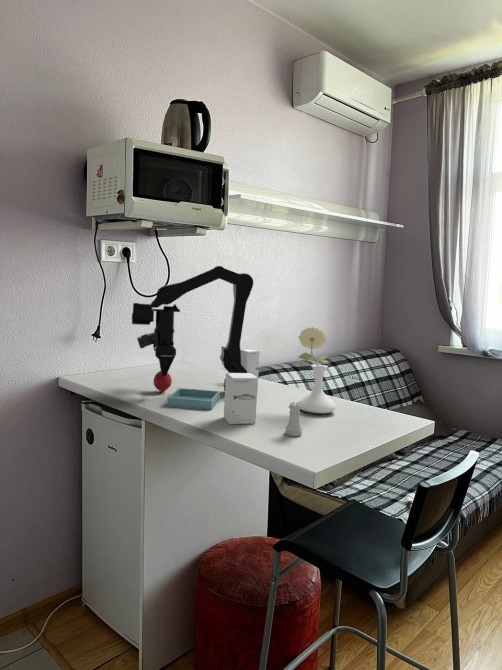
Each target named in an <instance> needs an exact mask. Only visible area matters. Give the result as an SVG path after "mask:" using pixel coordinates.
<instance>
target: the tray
mask: <svg viewBox="0 0 502 670" xmlns="http://www.w3.org/2000/svg"><path fill="white" fill-rule="evenodd" d="M166 400H167V401H166V406H167V407H171V408H184V409H194V410H205V411H207V410H209V411H212V410H213V408H215V406H216V405H217V404H218V403H219V401H220V400H221V391H220V390H210V389H197V388H196V389H195V388H184V387H183V388H182V387H179V388H177V389H176V390H175V391H174V392H172V393H171V394H170V395H168V396H167V399H166Z"/></svg>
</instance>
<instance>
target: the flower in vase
mask: <svg viewBox="0 0 502 670" xmlns="http://www.w3.org/2000/svg"><path fill="white" fill-rule="evenodd" d="M298 339H299V342H300V344H301V346H303V347H304V348H308V349H310V353H308V352H303V353H301V354H300V355H299V356H298V358H299V359H302V360H305V361H310V360H311V359H313V361H314V363H315V364H311V365H310V367H311V368H312V370H313V374H314V385H313V389H312V390H311V391H310V393H309V392H308V394H306V395H305V396H304V397H302V398H301V399H300V400H299V401H298V404H299V403H300V406H301V407H302V408H301V409H300V410H302V411H304V412H308V413H311V414H330V413H332V412H335V410H336V409H337V407H336V404H335V402H334V401H333V400H332V399H331V398H330V397H328V396H327V394H326V393H325V392H324V391H323V378H324V375H325V372H326V371H327V370H328V367H329V366H328V365H324V364H319V363H318V362H322V361H324V360H326V359H328V357H329V356H330V354H327V355H324V356H320V357H319V358H318V359H317V360H316V359H315V357H314V355H313V350H315V349H320V348H323V347H324V345H325V343H326V342H327V340H326V339H327V338H326V335H325V333H324V331H323V330H319V328H318V327H317V328H315V327H314V326H312V327H307V328H304V329H302V330H301V331H300V333H299V336H298Z"/></svg>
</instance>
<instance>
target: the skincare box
mask: <svg viewBox="0 0 502 670" xmlns="http://www.w3.org/2000/svg"><path fill="white" fill-rule="evenodd" d="M240 350H241V365H242V366H243V367H244V368H245V369H246V370H247V373H252V374H253V375H254V376H256V377H257V378H258V379H259V373H260V372H259V371H260V370H259V369H260V353H261V352H260V350H259V349H258V350H257V349H240Z"/></svg>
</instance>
